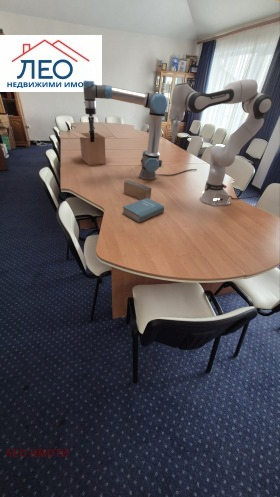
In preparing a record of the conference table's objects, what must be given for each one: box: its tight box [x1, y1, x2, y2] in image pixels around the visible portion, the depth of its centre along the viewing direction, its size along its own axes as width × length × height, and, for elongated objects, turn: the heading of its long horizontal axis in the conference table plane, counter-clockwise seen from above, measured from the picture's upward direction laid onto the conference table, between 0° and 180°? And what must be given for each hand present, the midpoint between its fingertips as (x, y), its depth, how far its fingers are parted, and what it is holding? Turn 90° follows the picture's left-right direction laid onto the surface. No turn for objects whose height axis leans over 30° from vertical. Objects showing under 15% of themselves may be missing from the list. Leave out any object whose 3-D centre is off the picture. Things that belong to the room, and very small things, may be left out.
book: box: [122, 198, 165, 224], centre depth 146 cm, size 23×16×5 cm
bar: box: [123, 179, 152, 201], centre depth 166 cm, size 22×5×10 cm, turn 51°
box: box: [70, 130, 114, 166], centre depth 229 cm, size 44×36×27 cm
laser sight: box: [140, 157, 163, 167], centre depth 236 cm, size 10×22×10 cm, turn 78°
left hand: (92, 140), depth 170 cm, fingers open, 13 cm apart
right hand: (172, 140), depth 142 cm, fingers open, 8 cm apart
